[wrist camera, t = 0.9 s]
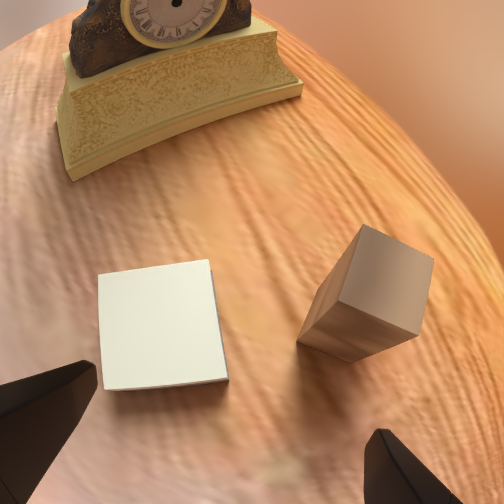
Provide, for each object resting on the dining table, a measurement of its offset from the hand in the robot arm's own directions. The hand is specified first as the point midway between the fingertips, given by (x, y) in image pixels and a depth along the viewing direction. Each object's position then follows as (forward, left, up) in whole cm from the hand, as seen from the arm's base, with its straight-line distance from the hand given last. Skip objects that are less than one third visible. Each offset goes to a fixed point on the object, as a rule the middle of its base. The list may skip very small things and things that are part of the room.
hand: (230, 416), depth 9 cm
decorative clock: (+21, -26, -14) cm, 36 cm away
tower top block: (+7, -3, -12) cm, 14 cm away
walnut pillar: (-4, -9, -14) cm, 17 cm away
